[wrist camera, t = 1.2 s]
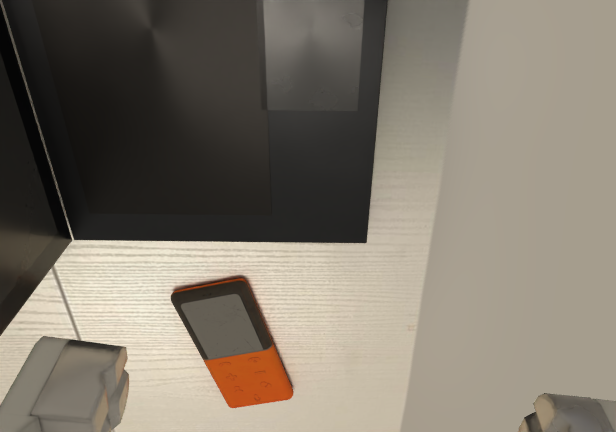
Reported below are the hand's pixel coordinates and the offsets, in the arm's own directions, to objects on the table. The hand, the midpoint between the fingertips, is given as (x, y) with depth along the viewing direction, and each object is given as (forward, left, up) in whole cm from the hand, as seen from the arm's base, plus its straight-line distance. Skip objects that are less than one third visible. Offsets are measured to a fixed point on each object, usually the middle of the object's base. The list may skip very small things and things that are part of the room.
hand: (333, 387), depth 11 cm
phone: (+27, +8, -26) cm, 39 cm away
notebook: (+3, -6, -26) cm, 27 cm away
